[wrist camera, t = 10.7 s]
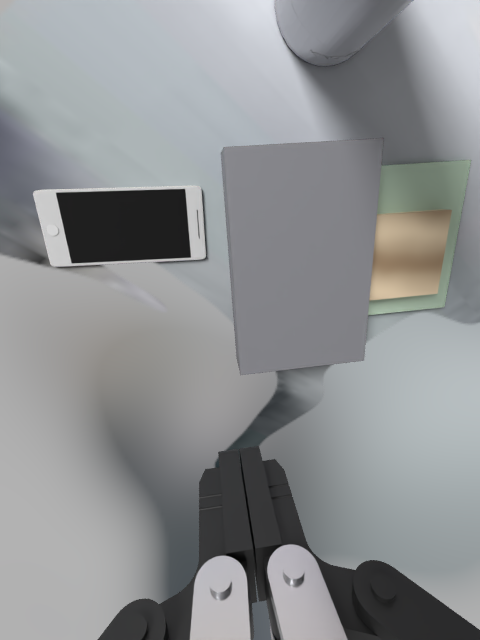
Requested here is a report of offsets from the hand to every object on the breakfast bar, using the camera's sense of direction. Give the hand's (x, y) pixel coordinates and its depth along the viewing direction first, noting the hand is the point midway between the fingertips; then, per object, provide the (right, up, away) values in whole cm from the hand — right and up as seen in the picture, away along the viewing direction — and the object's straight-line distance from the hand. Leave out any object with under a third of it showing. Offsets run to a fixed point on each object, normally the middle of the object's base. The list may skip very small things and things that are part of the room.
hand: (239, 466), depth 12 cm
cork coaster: (+17, +13, +24) cm, 32 cm away
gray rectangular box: (+6, +12, +23) cm, 27 cm away
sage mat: (+19, +14, +24) cm, 33 cm away
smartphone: (-11, +15, +20) cm, 28 cm away
